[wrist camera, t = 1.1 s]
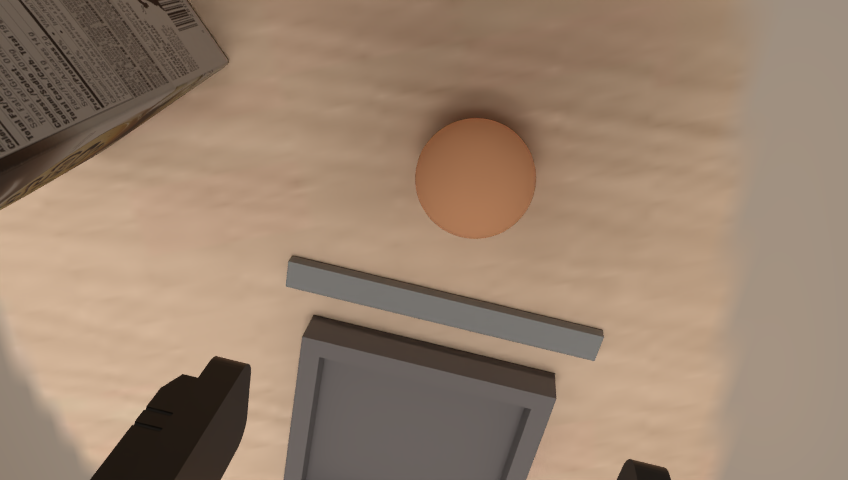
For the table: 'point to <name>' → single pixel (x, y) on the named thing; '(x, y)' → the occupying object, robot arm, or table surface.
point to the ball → (475, 178)
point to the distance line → (444, 308)
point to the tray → (410, 410)
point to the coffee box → (89, 79)
